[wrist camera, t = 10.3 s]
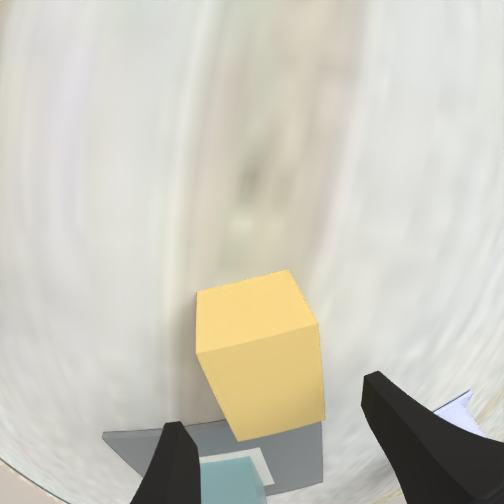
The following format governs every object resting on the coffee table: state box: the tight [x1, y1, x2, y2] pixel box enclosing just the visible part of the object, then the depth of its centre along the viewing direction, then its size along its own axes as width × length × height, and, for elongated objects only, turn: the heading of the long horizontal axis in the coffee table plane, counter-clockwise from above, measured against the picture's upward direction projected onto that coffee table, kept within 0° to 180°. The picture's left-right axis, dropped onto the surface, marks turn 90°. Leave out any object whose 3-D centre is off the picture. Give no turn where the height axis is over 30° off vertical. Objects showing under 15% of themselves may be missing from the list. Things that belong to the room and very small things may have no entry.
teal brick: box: [200, 456, 267, 504], centre depth 18 cm, size 6×4×4 cm
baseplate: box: [102, 420, 323, 496], centre depth 21 cm, size 16×16×1 cm
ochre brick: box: [196, 269, 325, 442], centre depth 13 cm, size 6×4×4 cm
